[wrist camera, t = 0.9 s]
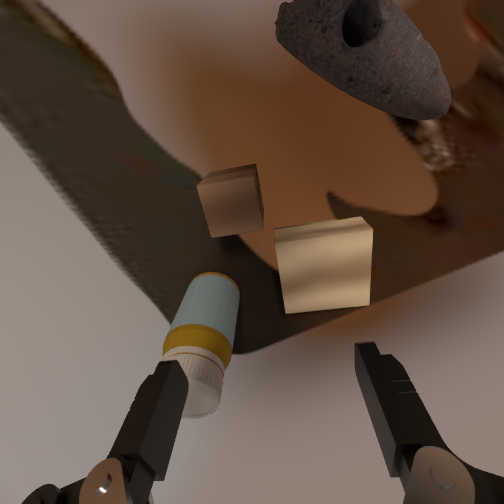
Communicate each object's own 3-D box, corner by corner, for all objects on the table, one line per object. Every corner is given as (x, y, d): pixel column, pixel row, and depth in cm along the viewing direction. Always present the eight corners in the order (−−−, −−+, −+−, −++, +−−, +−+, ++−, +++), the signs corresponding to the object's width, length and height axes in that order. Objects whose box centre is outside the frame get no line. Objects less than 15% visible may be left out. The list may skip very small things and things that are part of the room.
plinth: (273, 228, 30) (274, 243, 26) (359, 215, 28) (373, 229, 25) (283, 293, 34) (285, 313, 31) (358, 284, 33) (369, 304, 30)
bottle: (193, 308, 36) (151, 418, 23) (187, 268, 33) (134, 370, 20) (240, 310, 36) (226, 423, 23) (240, 270, 32) (222, 375, 19)
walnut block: (210, 172, 27) (196, 186, 21) (256, 163, 26) (253, 175, 21) (221, 215, 29) (211, 237, 24) (263, 208, 28) (263, 229, 23)
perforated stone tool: (443, 87, 22) (511, 76, 16) (398, 142, 24) (442, 152, 18) (304, -29, 19) (322, -97, 13) (268, 47, 21) (269, 21, 15)
